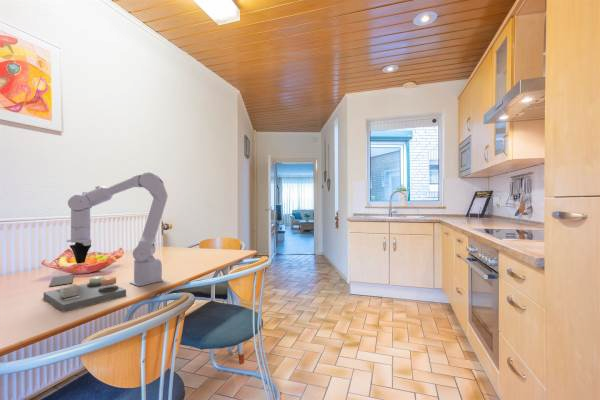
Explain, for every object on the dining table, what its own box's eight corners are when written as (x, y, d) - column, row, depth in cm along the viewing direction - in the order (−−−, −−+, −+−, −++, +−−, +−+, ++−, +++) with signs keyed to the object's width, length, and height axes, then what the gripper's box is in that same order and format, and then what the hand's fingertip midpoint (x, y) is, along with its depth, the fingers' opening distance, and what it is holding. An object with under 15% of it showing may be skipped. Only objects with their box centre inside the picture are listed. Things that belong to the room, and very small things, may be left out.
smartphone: (48, 286, 103) (52, 277, 114) (48, 288, 103) (52, 279, 114) (72, 282, 107) (73, 274, 119) (72, 285, 107) (73, 276, 119)
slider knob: (74, 293, 90) (74, 283, 90) (77, 294, 88) (77, 285, 88) (60, 296, 87) (60, 286, 87) (63, 298, 85) (63, 288, 85)
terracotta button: (112, 281, 97) (112, 276, 97) (118, 283, 94) (118, 278, 94) (98, 284, 93) (98, 279, 93) (103, 286, 91) (103, 281, 91)
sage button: (101, 280, 103) (101, 275, 103) (106, 282, 100) (106, 277, 100) (87, 283, 99) (87, 278, 99) (92, 285, 96) (92, 280, 96)
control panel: (102, 285, 105) (102, 278, 105) (126, 295, 94) (126, 287, 94) (43, 298, 91) (43, 290, 91) (63, 311, 80) (63, 303, 80)
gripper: (60, 226, 103) (60, 262, 103) (74, 229, 95) (74, 267, 95) (83, 225, 109) (83, 259, 109) (98, 227, 100) (97, 263, 100)
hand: (80, 263), depth 102 cm, fingers closed
